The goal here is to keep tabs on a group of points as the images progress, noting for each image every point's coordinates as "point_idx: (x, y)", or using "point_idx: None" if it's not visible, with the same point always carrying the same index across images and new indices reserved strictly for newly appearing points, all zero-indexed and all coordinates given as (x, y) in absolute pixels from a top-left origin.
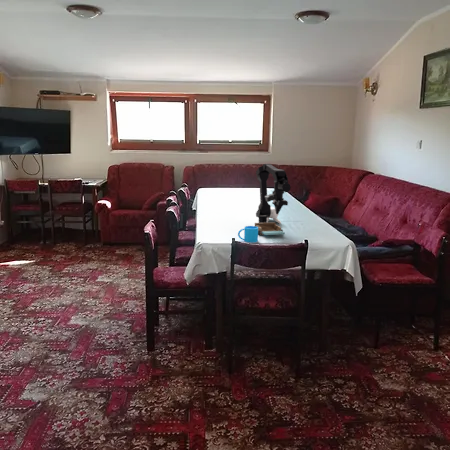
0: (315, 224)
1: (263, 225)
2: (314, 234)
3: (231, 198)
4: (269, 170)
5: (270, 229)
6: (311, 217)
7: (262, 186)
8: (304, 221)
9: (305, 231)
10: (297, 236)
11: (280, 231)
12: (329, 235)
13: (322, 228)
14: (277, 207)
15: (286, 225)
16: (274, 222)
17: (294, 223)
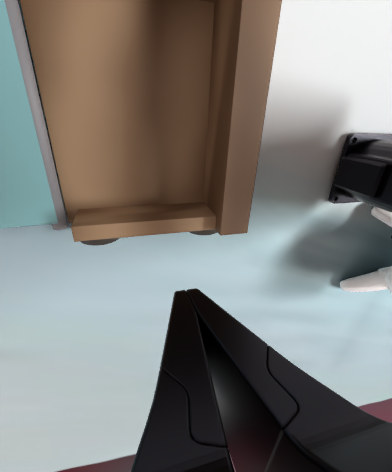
0: None
1: (223, 88)
2: (84, 393)
3: None
4: None
5: (187, 162)
6: (364, 395)
7: None
8: (330, 374)
9: (159, 364)
10: (16, 311)
11: (15, 208)
12: (62, 442)
13: None
14: (160, 452)
15: (303, 303)
16: (239, 227)
17: (320, 340)
